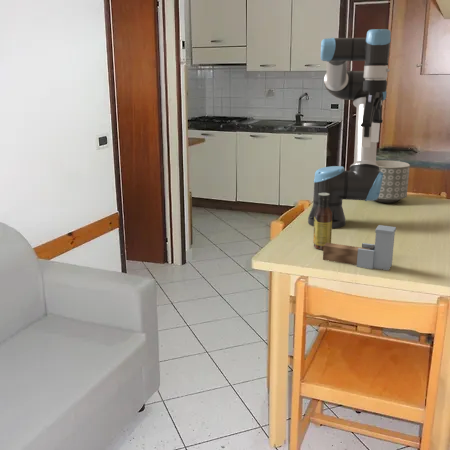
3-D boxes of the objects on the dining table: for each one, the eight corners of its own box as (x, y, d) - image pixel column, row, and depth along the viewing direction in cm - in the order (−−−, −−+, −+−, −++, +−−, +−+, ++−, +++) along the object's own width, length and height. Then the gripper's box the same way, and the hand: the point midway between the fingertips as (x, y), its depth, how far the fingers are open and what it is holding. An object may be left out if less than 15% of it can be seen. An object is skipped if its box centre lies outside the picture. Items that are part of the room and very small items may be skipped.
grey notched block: (356, 266, 171) (359, 228, 168) (361, 259, 178) (364, 222, 174) (389, 271, 167) (392, 232, 163) (392, 264, 173) (396, 226, 170)
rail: (322, 259, 178) (323, 241, 176) (325, 256, 181) (326, 238, 179) (371, 267, 171) (372, 248, 169) (373, 263, 174) (374, 245, 172)
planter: (357, 197, 262) (360, 161, 257) (390, 195, 267) (394, 159, 262) (379, 207, 245) (382, 168, 239) (414, 204, 250) (418, 165, 245)
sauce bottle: (318, 243, 194) (321, 190, 188) (334, 247, 190) (337, 193, 185) (309, 248, 189) (311, 193, 183) (325, 251, 185) (328, 196, 180)
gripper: (379, 80, 161) (374, 150, 167) (393, 78, 183) (388, 140, 189) (355, 80, 165) (350, 148, 171) (371, 78, 186) (366, 139, 192)
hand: (370, 144), depth 180 cm, fingers open, 13 cm apart
